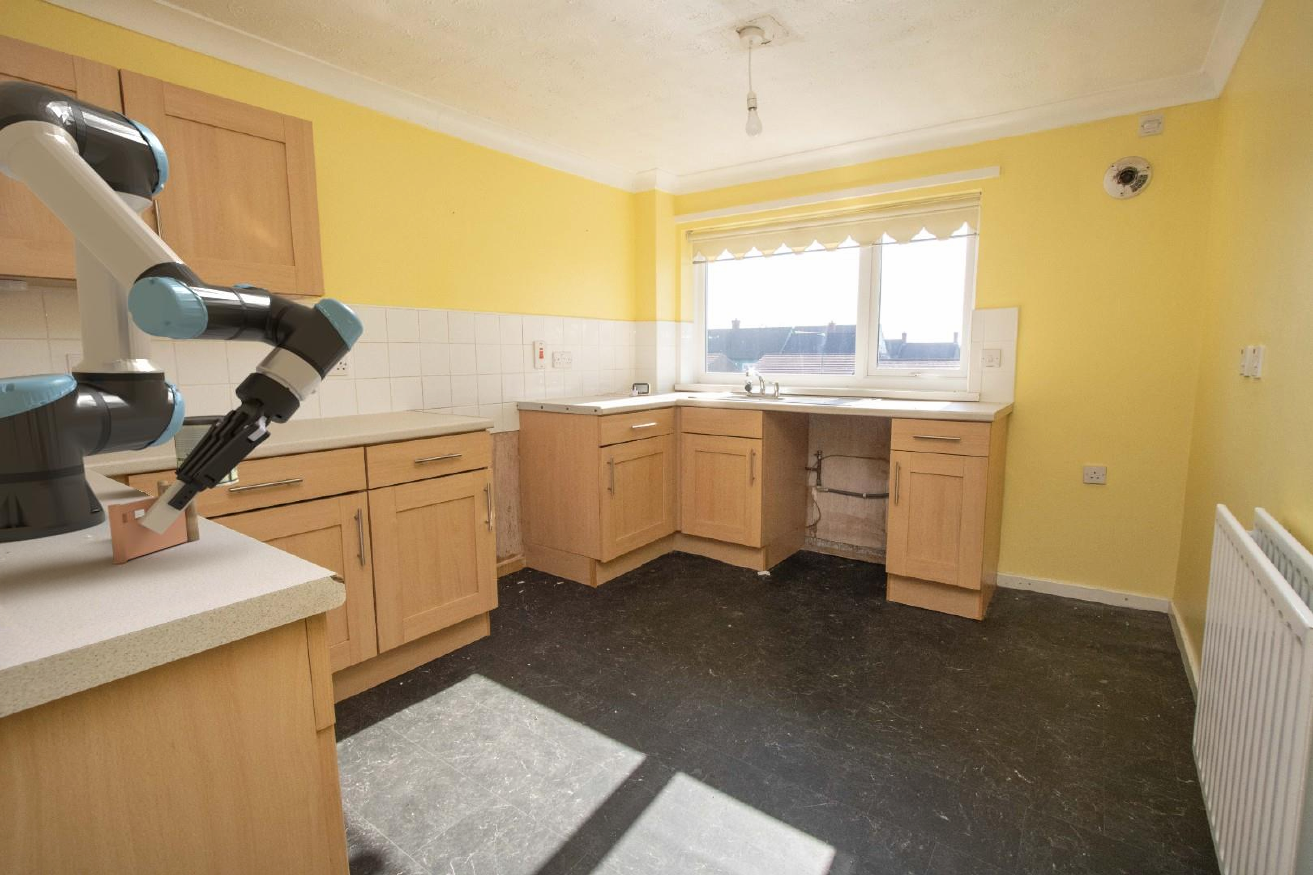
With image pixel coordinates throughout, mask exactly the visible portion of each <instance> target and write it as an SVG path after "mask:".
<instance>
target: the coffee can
mask: <svg viewBox="0 0 1313 875" xmlns="http://www.w3.org/2000/svg"><path fill="white" fill-rule="evenodd" d="M226 415H227V414H226ZM226 415H225V414H224V415H222V414H221V415H217V414H216V415H215V414H214V415H213V414H211V415H194V416H193V415H191V416H184V421H183V424H182V426H181V428H180V430H179V431H178V433H177V434H176V435H174V436H173V440H174V449H175V456H176V457H175V458H176V467H177V468H176V470H177V469H178V468H179V467H180V465H181V464H182V463H183V462H184V460H185V459H186V458H187V457H188V455H189V454H190V453H191V452H192V450H193V449H194V448H195V447H196V445H197V444H198V443H199V442H200V440H201V439H202V438H203V437H204V435H205V434H206V433H207V432H208V430H209V429H210V427H211V425H212V423H213V421H214V420H216V419H218V418H219V419H221V420H222V421H224V417H225V416H226ZM239 481H240V480H239V476H238V465H237V466H236V467H235V468H234V469H233V470H232V471H231V472H230V473H228V474H227V475H226V476H225V477H224V478H223V479H222V480H221V481H220V482H219V483H218V484H217V485H216V486H215V487H214V488H220V487H222V488H223V487H227V486H231V485H236V484H237V483H239ZM214 488H213V489H214ZM207 489H209V488H208V487H207Z"/></svg>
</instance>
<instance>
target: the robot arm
mask: <svg viewBox="0 0 1313 875" xmlns="http://www.w3.org/2000/svg"><path fill="white" fill-rule="evenodd" d="M169 169H170V167H169V160H168V157H167V153H166V150H165V148H164V147H163V144H162V143H161V141H160V140H159V138H158V137H157V135H155V134H154V133H153V132H152V131H151V130H150V129H149V128H148V127H147V126H145V125H143V124H142V123H140V122H139V121H136V120H134V119H131V118H130V117H127V115H124V114H122V113H121V112H117V111H116V110H109V109H107V108H103V107H100V106H98V105H95V104H92V103H89V102H88V101H86V100H85V101H84V100H81V99H79V98H76V97H73V96H72V95H70V94H69V95H68V94H65V93H63V92H61V91H60V92H59V91H57V90H55V89H54V88H50V87H48V86H45V85H42V84H39V83H36V82H35V83H34V82H29V81H22V80H6V81H0V173H2V174H3V175H5V176H6V177H7V178H10V179H12V180H14V181H18V182H21V183H23V184H24V185H25V186H26V187H27V189H29V190H30V191H31V192H32V193H33V195H35V197H37V199H38V200H39V201H40V202H41V203H43V204H44V206H45V207H46V208H47V209H48V210H49V211H50V212H51V213H52V214H53V215H54V217H56V218H57V219H58V220H59V222H61V223H62V224H63V225H64V227H66V228H67V230H69V232H71V234H72V241H73V244H72V245H73V254H74V265H75V266H74V267H75V276H76V278H75V279H76V288H77V299H78V310H79V321H80V322H79V324H80V335H81V346H82V355H83V356H82V357H83V358H82V359H81V361H80V362H78V363H77V365H75V366H74V367H73V368H72V369H71V374H70V373H42V374H41V373H40V374H38V373H37V374H30V375H29V374H28V375H18V376H17V375H16V376H7V377H0V543H9V542H18V541H19V542H21V541H27V540H28V541H29V540H36V539H43V538H49V537H54V536H60V535H65V534H71V533H75V532H79V531H83V530H87V529H90V528H93V527H97V526H99V525H101V524H103V523H104V522H106V520H107V518H106V511H105V509H104V507H103V506H102V504H101V502H100V501H99V499H98V497H97V495H96V493H95V492H94V490H93V488H92V486H91V485H90V482H89V481H88V480H87V476H86V470H85V469H86V468H85V461H84V460H85V459H84V457H90V456H91V457H92V456H99V455H105V454H107V455H108V454H113V453H120V452H127V451H132V452H133V451H134V452H138V451H139V452H140V451H143V450H146V449H148V448H149V449H150V448H154V447H159V446H162V445H164V444H166V443H168V442H169V441H170V440H172V439H174V435H176V434H177V433H178V431H179V430H180V428H181V426H182V424H183V421H184V417H186V406H185V405H186V404H185V401H184V397H183V395H182V393H180V392H179V389H178V387H176V385H175V384H173V383H171V382H170V381H167V380H166V376H165V369H164V368H162V367H161V366H160V365H158V364H157V363H156V362H155V361H154V360H153V353H152V341H151V340H152V339H151V338H152V337H151V336H153V337H161V338H169V339H172V340H183V341H184V340H185V341H186V340H206V341H208V340H212V341H237V342H258V343H263V344H267V345H268V346H271V347H273V349H272V350H271V351H270V352H269V353H268V354H267V355H266V356H265V357H264V358H263V359H262V360H261V361H260V362H259V363H258V364H257V365H256V367H255V372H251V373H249V374H248V375H247V377H246V378H244V380H243V381H242V382H241V383H240V384H238V386H237V387H236V388H235V391H234V392H235V396H236V397H237V398H238V399H239V400H240V402H241V404H240V405H238V406H237V407H236V408H235V409H231V410H230V411H229V412H227V414H226V416H225V417H224V421H222V420H221V419H219V418H218V419H216V420H214V421H213V423H212V425H211V427H210V429H209V430H208V432H207V433H206V434H205V435H204V437H203V438H202V439H201V440H200V442H199V443H198V444H197V445H196V447H195V448H194V449H193V450H192V452H191V453H190V454H189V455H188V457H187V458H186V459H185V460H184V462H183V463H182V464H181V465H180V467H179V468H178V469H177V468H176V470H175V471H174V474H175V475H176V477H175V479H176V480H175V481H174V482H173V483H172V485H171V486H170V487H169V488H168V489H167V490H166V492H165V493H164V494H163V495H162V496H161V497H160V498H159V499H158V500H157V501H156V502H155V503H154V504H153V506H152V507H151V508H150V509H149V510H148V511H147V512H146V513H145V512H144V514H143V515H141V516H140V517H141V518H140V520H139V521H138V522H137V523H139V524H141V525H143V526H145V527H146V528H148V529H150V530H152V531H154V532H156V533H158V534H160V535H162V534H163V533H164V532H165V531H166V530H167V529H168V527H169V526H170V525H171V524H172V523H173V522H174V521H175V520H176V519H177V517H178V516H179V515H180V514H181V513H182V512H183V511H184V510H185V509H186V507H187V506H188V505H189V504H190V503H191V502H192V501H193V500H194V498H195V497H196V498H197V496H198V495H199V494H200V493H202V492H204V491H205V490H207V489H209V490H211V489H214V487H215V486H216V485H217V484H218V483H219V482H220V481H221V480H222V479H223V478H224V477H225V476H226V475H227V474H228V473H230V472H231V471H232V470H233V469H234V468H235V467H236V466H237V467H238V465H239V464H240V463H241V462H242V461H243V460H244V459H245V458H246V457H247V456H248V455H249V454H250V453H252V451H254V450H255V449H256V448H257V447H258V446H260V445H261V444H262V443H264V442H265V441H266V440H267V439H269V438H270V436H271V434H272V433H271V432H270V431H269V430H267V427H268V426H269V425H270V424H271V423H272V422H274V423H276V424H281V425H282V424H285V423H287V422H288V421H289V420H290V419H291V418H292V416H294V415H295V413H296V412H297V411H298V410H299V409H300V408H301V403H300V402H304V401H306V400H307V399H308V397H309V396H310V395H314V394H316V393H317V392H318V390H317V387H318V386H319V385H320V383H322V382H323V380H324V379H325V378H326V376H327V375H329V373H330V372H331V370H333V369H334V368H335V367H336V365H337V364H338V363H339V362H340V361H341V360H342V359H343V358H345V356H346V355H347V354H348V353H349V352H351V350H352V348H353V346H354V345H355V344H356V342H357V341H358V340H359V338H360V337H361V336H362V334H363V332H364V327H363V323H362V321H361V320H360V317H359V316H358V315H357V313H355V312H354V310H352V309H351V308H350V307H349V306H347V305H345V304H344V303H343V302H341V301H339V300H337V299H334V298H322V299H321V300H320V301H318V302H317V303H315V304H314V305H313V307H309V306H307V305H303V304H301V303H299V302H298V303H297V302H295V301H292V300H290V299H288V298H286V297H283V296H280V295H278V294H276V293H274V292H272V291H270V290H268V289H266V288H264V287H258V286H254V285H251V284H247V283H238V284H235V285H233V286H224V285H218V284H217V285H216V284H210V283H207V282H205V281H204V280H202V279H201V278H200V276H199V275H198V274H197V273H195V272H194V270H192V269H191V268H190V267H189V265H188V264H186V263H185V261H183V260H182V258H180V257H179V256H178V255H177V254H176V252H175V251H174V250H172V248H170V246H168V245H167V243H166V242H165V241H163V239H162V238H161V237H160V236H159V235H158V234H157V233H156V232H155V231H154V230H153V229H152V228H151V227H150V225H148V223H146V222H145V220H143V218H142V214H143V213H144V212H145V211H147V210H148V209H149V208H150V207H152V206H153V196H154V197H155V196H157V195H158V194H160V193H161V192H162V191H163V189H164V188H165V185H164V183H167V182H168V180H169V179H168V178H169ZM207 487H208V488H207Z"/></svg>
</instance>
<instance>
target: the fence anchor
mask: <svg viewBox="0 0 1313 875" xmlns="http://www.w3.org/2000/svg"><path fill="white" fill-rule="evenodd" d="M168 482H169V481H168V480H158V481H156V485H157V486H156V487H157V488H156V489H157V497H158V496H162V495H163V494H164V493H165V492H166V490H167V489H168V488H169V487H170V486H171V485H172V484H173V483H172V484H171V483H168ZM197 507H198V506H197V496H196V497H195V498H194V500H193V501H192V502H191V503H190V504H189V505H188V506H187V507H186V509H185V520H186V530H187V540H188V541H186V542H185V543H190V542H191V543H193V542H197V541H199V540H200V538H201V537H200V528H199V517H198V508H197Z"/></svg>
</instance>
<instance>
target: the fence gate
mask: <svg viewBox="0 0 1313 875" xmlns="http://www.w3.org/2000/svg"><path fill="white" fill-rule="evenodd" d="M160 497H161V496H158V495H157V496H154V497H150V498H144V499H141V500H136V501H132V502H127V503H122V504H121V503H115V504H110V505H107V510H108V518H109V527H110V538H111V545H112V554H113V555H112V556H113V563H114V564H115V565H118V564H119V565H120V564H125V563H127V562H128V561H129V560H131V559H134V558H138V557H142V556H143V555H148V554H150V553H153V552H156V551H160V550H163V549H166V548H169V547H173V546H176V545H179V544H180V545H181V544H182V543H187V542H186V541H188V540H187V530H186V520H185V510H184V511H183V512H182V513H181V514H180V515H179V516H178V517H177V519H176V520H175V521H174V522H173V523H172V524H171V525H170V526H169V527H168V529H167V530H166V531H165V532H164V533H163V534H162V535H160V534H158V533H156V532H154V531H152V530H150V529H148V528H146V527H145V526H143V525H141V524H139V523H137V522H138V521H139V520H140V518H141V517H142V516H138V517H136V512H138V511H141V510H144V512H143V513H144V514H145V513H146V512H147V511H148V510H149V509H150V508H151V507H152V506H153V504H154V503H155V502H156V501H157V500H158V499H159V498H160Z"/></svg>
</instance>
